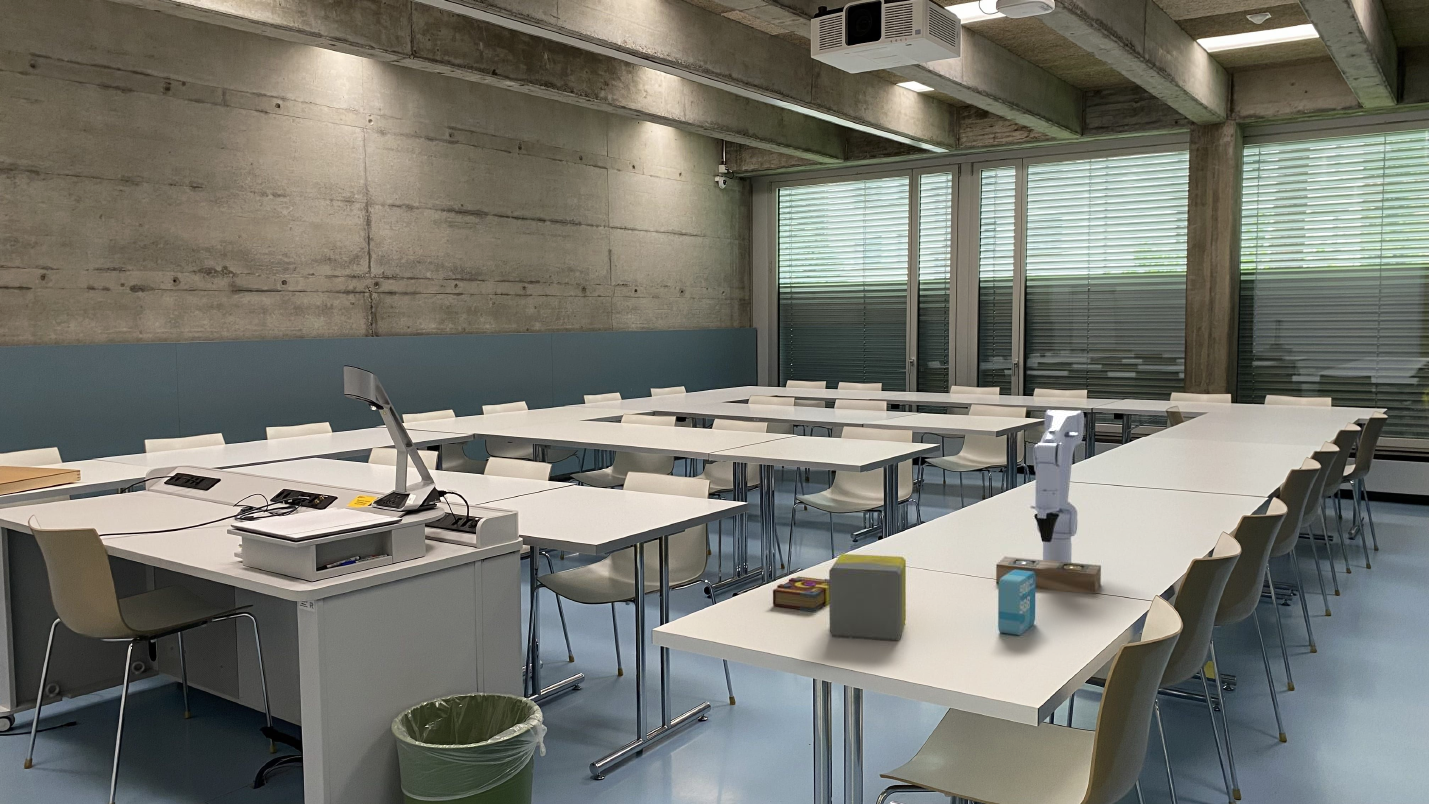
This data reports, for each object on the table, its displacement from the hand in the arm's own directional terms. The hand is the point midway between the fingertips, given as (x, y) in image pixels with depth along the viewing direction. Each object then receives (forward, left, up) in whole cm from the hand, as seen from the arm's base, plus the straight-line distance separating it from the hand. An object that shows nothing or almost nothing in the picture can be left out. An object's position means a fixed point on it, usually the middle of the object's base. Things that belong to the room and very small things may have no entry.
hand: (1046, 541), depth 260 cm
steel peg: (+3, -5, -11) cm, 12 cm away
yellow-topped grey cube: (+55, -28, -11) cm, 63 cm away
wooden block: (+3, +1, -10) cm, 11 cm away
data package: (+45, +2, -11) cm, 46 cm away
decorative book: (+44, -48, -11) cm, 66 cm away
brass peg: (+3, +7, -11) cm, 13 cm away
